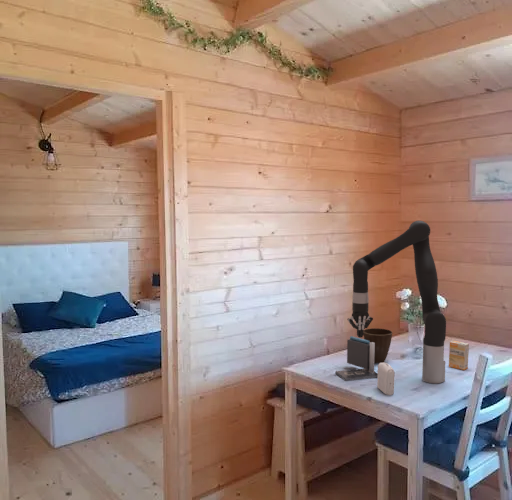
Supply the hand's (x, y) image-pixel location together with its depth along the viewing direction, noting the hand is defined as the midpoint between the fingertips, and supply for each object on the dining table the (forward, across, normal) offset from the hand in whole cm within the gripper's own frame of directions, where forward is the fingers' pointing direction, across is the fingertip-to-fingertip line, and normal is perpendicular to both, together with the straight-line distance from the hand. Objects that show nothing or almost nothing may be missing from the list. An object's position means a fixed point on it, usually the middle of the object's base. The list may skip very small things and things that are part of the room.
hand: (360, 337), depth 245 cm
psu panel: (+19, +1, 0) cm, 19 cm away
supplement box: (+19, -53, +3) cm, 57 cm away
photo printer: (+19, -1, +22) cm, 29 cm away
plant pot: (+19, -20, -18) cm, 33 cm away
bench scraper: (+17, -4, -6) cm, 19 cm away
